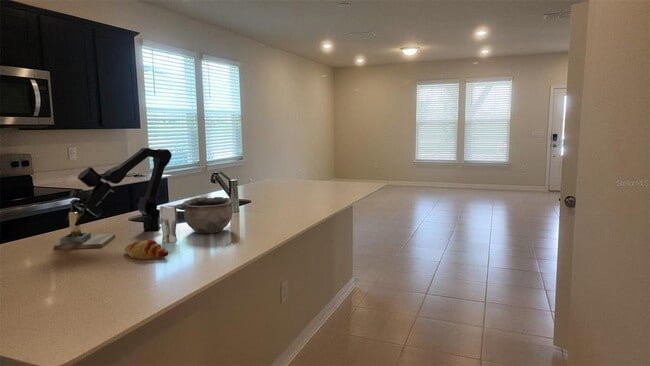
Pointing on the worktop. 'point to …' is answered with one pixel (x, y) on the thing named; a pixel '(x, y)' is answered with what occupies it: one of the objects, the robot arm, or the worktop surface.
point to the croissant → (146, 250)
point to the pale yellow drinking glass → (74, 230)
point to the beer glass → (168, 223)
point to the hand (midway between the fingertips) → (71, 223)
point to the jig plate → (84, 241)
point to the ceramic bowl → (208, 214)
